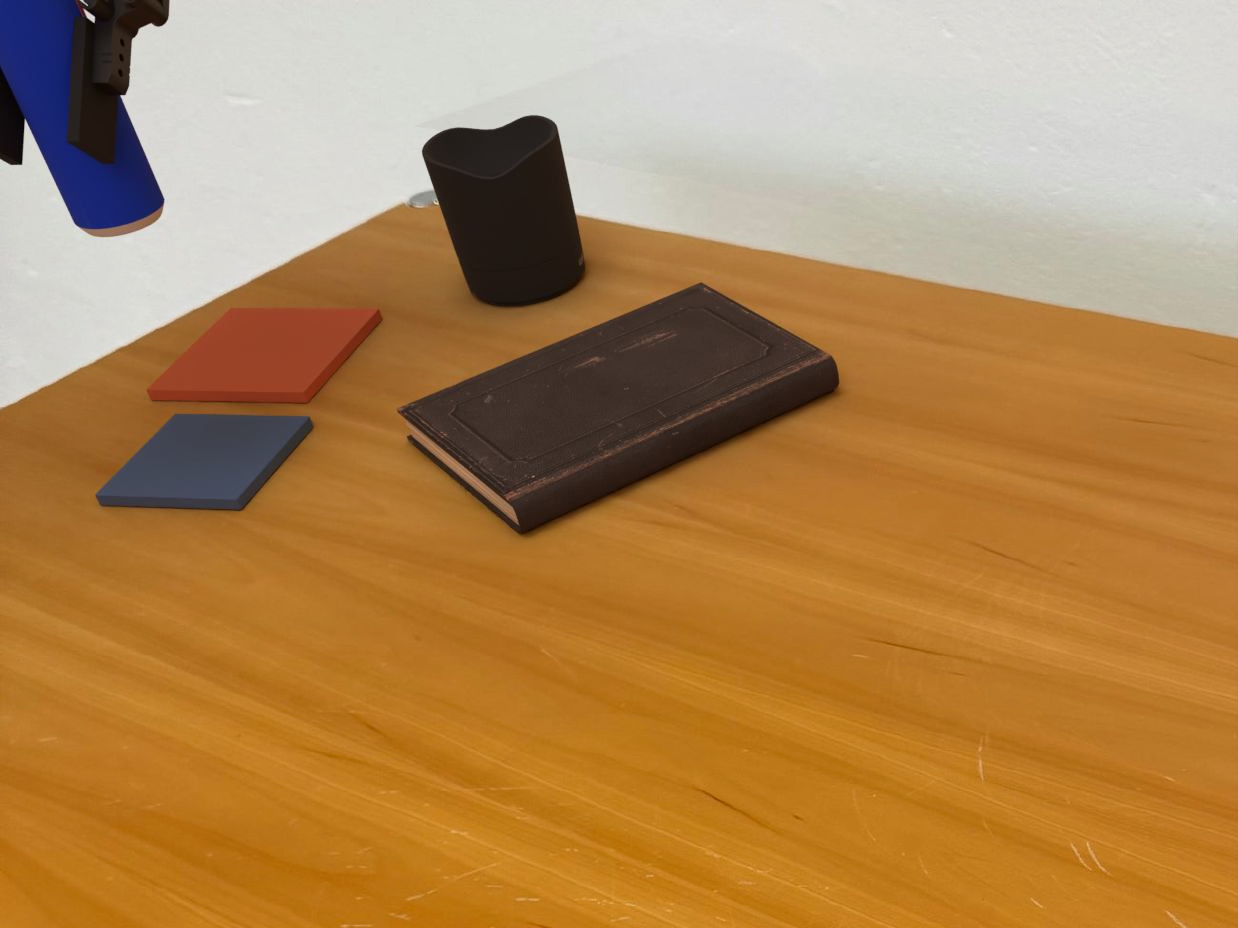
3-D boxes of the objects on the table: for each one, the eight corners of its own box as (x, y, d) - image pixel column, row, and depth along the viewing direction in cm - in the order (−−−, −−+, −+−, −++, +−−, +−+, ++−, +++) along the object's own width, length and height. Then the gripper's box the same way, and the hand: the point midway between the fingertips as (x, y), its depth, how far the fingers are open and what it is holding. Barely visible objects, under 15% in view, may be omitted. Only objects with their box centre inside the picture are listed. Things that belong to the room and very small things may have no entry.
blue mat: (99, 505, 102) (93, 494, 101) (180, 423, 109) (175, 413, 108) (241, 510, 100) (236, 499, 99) (314, 426, 106) (309, 415, 106)
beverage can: (187, 209, 95) (65, -83, 84) (115, 246, 92) (-21, -51, 81) (132, 196, 97) (6, -89, 86) (60, 232, 94) (-79, -59, 83)
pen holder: (536, 319, 114) (496, 174, 107) (438, 298, 118) (393, 157, 111) (617, 263, 120) (584, 121, 113) (521, 245, 124) (483, 107, 116)
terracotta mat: (150, 400, 111) (145, 389, 111) (235, 318, 119) (230, 307, 119) (307, 403, 109) (303, 392, 108) (382, 318, 117) (379, 308, 116)
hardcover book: (408, 440, 104) (396, 408, 102) (707, 313, 112) (701, 281, 111) (524, 538, 95) (513, 503, 93) (841, 391, 103) (836, 357, 101)
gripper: (262, -249, 89) (235, 181, 90) (-21, -229, 93) (-44, 184, 94) (171, -351, 82) (143, 119, 82) (-132, -325, 85) (-156, 124, 86)
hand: (44, 152), depth 88 cm, fingers closed on beverage can, 5 cm apart
